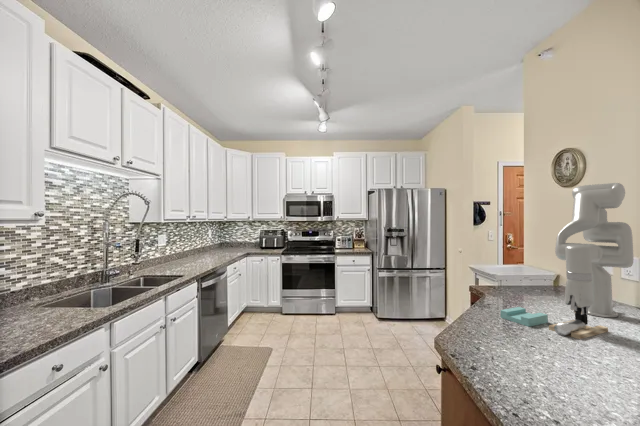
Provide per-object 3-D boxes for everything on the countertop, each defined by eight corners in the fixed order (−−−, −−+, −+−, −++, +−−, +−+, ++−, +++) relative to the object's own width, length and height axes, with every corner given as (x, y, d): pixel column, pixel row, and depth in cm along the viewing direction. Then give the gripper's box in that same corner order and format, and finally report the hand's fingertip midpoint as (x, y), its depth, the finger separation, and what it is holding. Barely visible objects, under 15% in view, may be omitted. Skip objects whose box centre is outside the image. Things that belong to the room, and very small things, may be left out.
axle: (572, 327, 112) (574, 317, 111) (585, 332, 108) (586, 322, 108) (553, 332, 107) (554, 322, 107) (565, 337, 104) (567, 327, 103)
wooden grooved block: (576, 324, 117) (576, 319, 117) (608, 333, 108) (608, 327, 108) (548, 331, 111) (548, 325, 111) (579, 341, 102) (579, 334, 102)
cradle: (519, 315, 130) (518, 306, 130) (548, 324, 119) (547, 314, 119) (500, 319, 126) (500, 310, 126) (528, 328, 114) (528, 318, 115)
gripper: (579, 273, 117) (581, 317, 117) (556, 277, 112) (558, 323, 111) (602, 276, 110) (604, 323, 110) (579, 280, 105) (581, 330, 104)
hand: (581, 323), depth 111 cm, fingers closed
